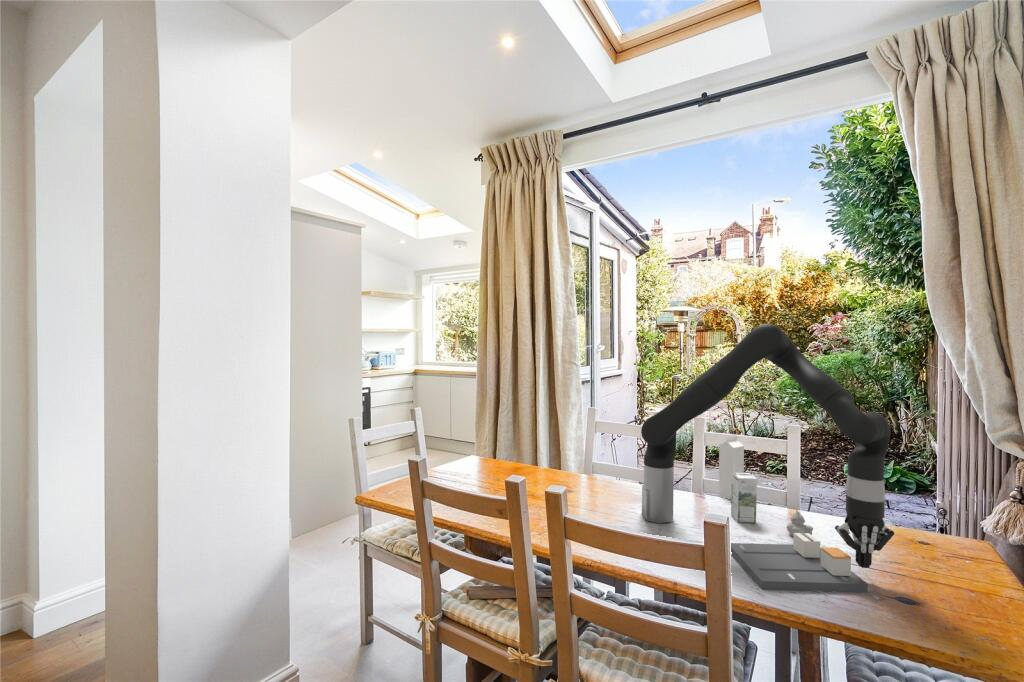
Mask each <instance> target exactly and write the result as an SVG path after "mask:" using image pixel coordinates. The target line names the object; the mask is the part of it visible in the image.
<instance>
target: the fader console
mask: <svg viewBox="0 0 1024 682" xmlns="http://www.w3.org/2000/svg"><path fill="white" fill-rule="evenodd" d="M730 543H731V552H732V555H731V556H732V558H733V559H734V560H735V561H736V562H737V564H739V566H740V567H741V568H742V569H743V570H744V571H745V572H746V574H747V575H748V576H749V577H750V578H751V579H752V580H753V581H754V583H755V584H756V585H757V586H758V587H759V588H760V589H761V590H766V591H767V590H769V591H798V592H800V591H803V592H805V591H807V592H832V591H836V592H835V593H838V592H840V593H841V592H842V593H867V592H868V593H869V583H868V582H866V581H865V580H864V579H862V578H861V577H860V576H858V574H855V572H853V571H852V570H851V576H833V575H832V574H831V573H830V572H828V571H827V570H826V569H825V568H823V567H822V566H821V547H820V558H810V557H803V556H802V555H801V554H799V553H798V552H797V551H796V550H795V549H793V544H785V543H784V544H783V543H781V544H780V543H750V542H749V543H747V542H746V543H744V542H743V543H742V542H741V543H739V542H730Z"/></svg>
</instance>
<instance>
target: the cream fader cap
mask: <svg viewBox="0 0 1024 682" xmlns="http://www.w3.org/2000/svg"><path fill="white" fill-rule="evenodd" d="M792 545H793V549H795V550H796V551H797V552H798V553H799V554H801V555H802V556H803V557H810V558H820V548H821V541H820V540H819V539H818V538H816V537H815V536H814V535H813V534H812V535H811V534H809V533H803V532H800V533H794V536H793V544H792Z"/></svg>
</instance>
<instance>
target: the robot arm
mask: <svg viewBox="0 0 1024 682" xmlns="http://www.w3.org/2000/svg"><path fill="white" fill-rule="evenodd" d="M762 360H767V361H769V362H770V363H772V364H774V365H775V366H777V367H779V369H782V370H783V371H784V372H785V373H786V374H788V375H789V376H790V377H791V378H792V379H793V380H794V381H795V382H796V384H798V386H799V387H800V388H801V389H802V390H803V392H805V393H806V394H807V395H808V396H809V397H810V398H811V400H813V401H814V402H815V403H816V404H817V405H818V406H819V407H821V409H823V410H824V411H825V412H826V413H827V414H828V415H829V417H830V419H831V420H832V422H833V423H834V424H835V425H836V427H837V428H838V429H839V430H840V432H841V433H842V434H843V435H844V436H846V437H847V438H848V439H850V440H851V441H853V442H855V445H854V448H853V449H852V450H851V452H850V453H848V458H847V477H846V481H845V485H846V486H845V511H846V512H845V513H846V516H845V519H844V523H843V524H841V525H835V526H834V529H835V530H836V532H837V533H838V535H839V536H840V538H842V539H843V541H844V542H845V544H846V545H847V546H849V548H851V549H853V550H854V551H855V563H857V565H858V566H859V567H860V568H862V569H870V567H871V566H872V560H873V559H872V558H873V557H872V556H873V553H874V551H877V552H880V551H881V550H882V549H883V548H884V547H885V546H886V545H887V543H888V542H889V541H890V540H891V539H892V537H894V535H895V531H893V530H892V529H890V528H888V527H887V526H886V525H885V524H886V523H885V521H884V518H885V510H886V509H885V505H886V503H885V501H886V500H885V499H886V496H885V495H886V487H885V458H886V454H887V452H888V447H889V443H890V438H891V426H890V424H889V423H890V422H889V421H888V420H887V418H886V417H885V416H883V415H882V414H880V413H878V412H873V411H868V412H867V411H866V412H863V411H862V410H860V409H859V408H858V406H856V405H855V404H854V403H855V398H854V396H853V395H852V394H851V393H850V392H849V391H847V390H846V389H845V388H844V387H843V385H841V384H839V383H838V382H837V381H836V380H834V379H833V377H831V376H830V375H828V373H826V372H824V371H823V370H822V369H820V368H819V367H818V366H816V365H815V364H814V363H812V362H811V361H810V360H809V359H808V358H807V357H806V355H804V354H803V353H802V352H801V351H800V350H799V349H798V347H797V346H796V344H794V343H793V341H792V340H791V339H790V338H789V336H788V334H787V333H786V332H785V331H784V330H782V329H781V327H778V326H777V325H774V324H772V323H764V324H763V323H762V324H759V325H757V326H756V327H754V328H753V329H752V330H750V331H749V333H747V334H746V335H745V337H743V338H742V340H740V342H738V344H736V345H735V346H734V348H732V349H731V350H730V351H729V352H728V353H727V354H726V355H725V356H723V357H722V358H720V360H718V361H717V362H716V363H715V364H713V365H712V366H710V368H708V369H707V370H706V371H704V372H703V373H702V374H701V375H699V376H698V377H697V378H696V379H694V380H693V381H692V382H691V383H690V384H689V385H688V386H687V387H686V388H684V390H683V391H681V393H679V395H678V396H677V397H676V398H675V399H674V400H672V402H671V403H669V404H668V405H667V406H666V407H664V408H663V409H661V410H660V411H659V412H658V411H657V412H656V413H655V414H654V415H651V416H650V417H648V418H647V419H645V420H644V421H643V423H642V425H641V429H640V433H641V437H642V440H643V441H644V442H645V443H646V451H645V453H644V455H643V484H642V486H641V515H642V516H643V518H644V520H645V522H646V521H647V522H653V523H658V524H666V522H668V523H671V522H673V521H674V487H675V486H674V485H675V484H674V479H675V478H674V474H675V473H674V472H675V466H674V465H675V463H674V462H675V457H676V453H677V452H676V451H677V432H678V431H679V429H681V428H682V427H683V426H685V425H686V424H687V423H688V422H690V421H691V420H693V419H695V418H696V417H699V416H701V415H702V414H704V413H705V412H707V411H708V410H710V409H711V408H714V406H716V405H717V404H719V403H720V402H721V401H722V400H723V399H725V398H726V397H728V396H729V395H730V394H731V393H732V391H733V390H735V387H736V386H737V384H738V383H739V381H740V380H741V378H742V377H743V376H744V374H746V372H747V371H748V370H749V369H750V368H752V367H753V366H754V365H756V364H757V363H758V362H760V361H762ZM672 520H673V521H672ZM851 534H852V535H851Z"/></svg>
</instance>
